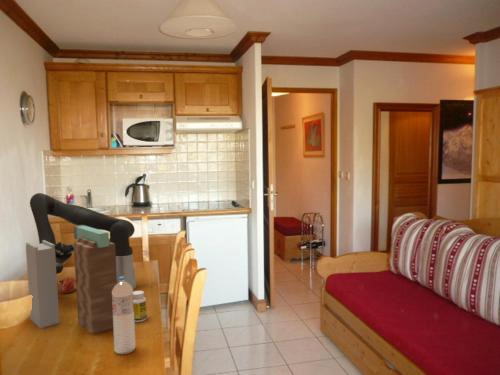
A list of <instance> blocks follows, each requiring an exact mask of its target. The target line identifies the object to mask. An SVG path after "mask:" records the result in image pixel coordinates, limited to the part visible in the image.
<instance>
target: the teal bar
mask: <svg viewBox="0 0 500 375" xmlns="http://www.w3.org/2000/svg"><path fill="white" fill-rule="evenodd" d="M80 237H81V238H84V239H87V240H90V241H93V242H95V243H96V247H99V248H101V247H107V246H109V240H110V232H109V231H105V230H98V229H95V228H91V227H88V226H85V225H73V238H74V239H75V240H77V241H78V240H79V238H80Z"/></svg>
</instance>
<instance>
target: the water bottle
mask: <svg viewBox="0 0 500 375" xmlns="http://www.w3.org/2000/svg"><path fill="white" fill-rule="evenodd" d="M124 280H125V277H124V276H121V277H119V282H118V283H117V284H116V285H115V286H114V287H113V289H112V291H111V294H112V306H113V329H112V331H113V349H114V353H116V355H127V354H130V353H132V352H134V351H135V349H136V330H135V329H136V328H135V326H136V325H135V322H134V309H133V292H134V289H133V288H132V286H131V285H130V284H129V283H127V282H126V281H124Z"/></svg>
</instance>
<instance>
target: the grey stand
mask: <svg viewBox="0 0 500 375" xmlns="http://www.w3.org/2000/svg"><path fill="white" fill-rule="evenodd" d="M25 252H26V269H27V271H26V272H27V283H28V284H27V288H28V296H29V295H32V296H33V298H32V310H31V314H30V320H31V322H33V324H35V325H36V327H38V328H39V329H43V328H47V327H51V326H55V325H58V324H60V310H59V308H60V307H59V293H58V292H59V291H58V279H57V277H58V276H57V274H56V257H55V246H54V244H52V243H50V242H47V241H45V240H42V244H39V243H35V244H33V243H32V244H31V243H30V242H25Z"/></svg>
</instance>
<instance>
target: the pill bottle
mask: <svg viewBox="0 0 500 375" xmlns="http://www.w3.org/2000/svg"><path fill="white" fill-rule="evenodd" d="M133 309H134V323H141V322H145V321H146V320H147V317H148V315H147V298H146V297H145V292H144V291H143V290H135V291H134V290H133Z"/></svg>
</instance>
